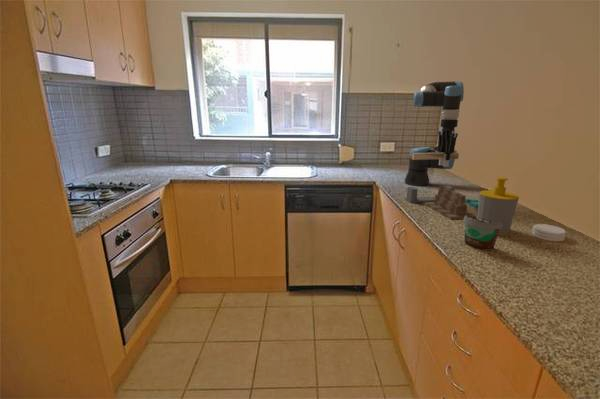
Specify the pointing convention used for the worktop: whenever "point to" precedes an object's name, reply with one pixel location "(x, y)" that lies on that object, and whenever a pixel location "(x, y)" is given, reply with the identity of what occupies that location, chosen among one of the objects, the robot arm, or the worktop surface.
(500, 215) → the soap bottle
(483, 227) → the food container
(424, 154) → the birch bar
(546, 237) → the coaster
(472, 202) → the alien figure
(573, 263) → the worktop surface
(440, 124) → the robot arm
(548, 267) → the worktop surface
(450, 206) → the fulcrum
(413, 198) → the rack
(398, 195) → the worktop surface
